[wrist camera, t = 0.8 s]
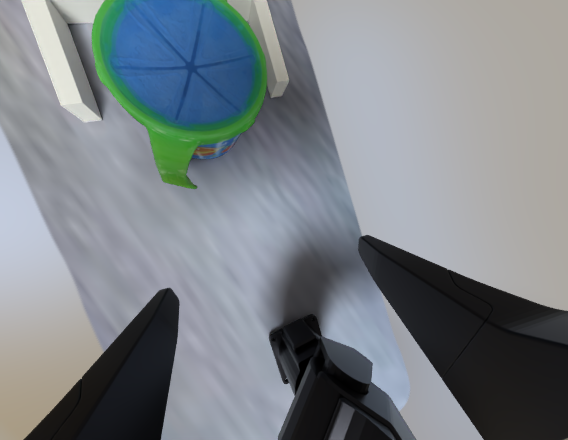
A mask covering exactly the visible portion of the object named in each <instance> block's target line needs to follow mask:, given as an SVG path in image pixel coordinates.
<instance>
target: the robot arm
mask: <svg viewBox="0 0 568 440" xmlns="http://www.w3.org/2000/svg"><path fill="white" fill-rule="evenodd" d="M358 251H359V254H360V256H361V258H362V260H363V262H364V263H365V265H366V267H367V269H368V271H369V273H370V274H371V276H372V278H373V280H374V281H375V283H376V284H377V286H378V287H379V289H380V290H381V292H382V293H383V294H384V296H385V297H386V299H387V300H388V302H389V303H390V305H391V306H392V307H393V309H394V310H395V312H396V313H397V315H398V316H399V318H400V319H401V320H402V322H403V323H404V325H405V326H406V328H407V329H408V331H409V332H410V333H411V335H412V336H413V338H414V339H415V341H416V342H417V344H418V345H419V346H420V348H421V349H422V351H423V352H424V354H425V355H426V357H427V358H428V359H429V361H430V362H431V364H432V365H433V367H434V368H435V369H436V371H437V372H438V374H439V375H440V377H441V378H442V380H443V381H444V383H445V384H446V386H447V387H448V388H449V390H450V391H451V393H452V394H453V396H454V397H455V399H456V400H457V401H458V403H459V404H460V406H461V407H462V409H463V410H464V411H465V413H466V414H467V416H468V417H469V418H470V420H471V422H472V423H473V425H474V426H475V427H476V429H477V430H478V432H479V433H480V435H481V436H482V438H483V439H484V440H568V311H564V310H559V309H554V308H550V307H547V306H543V305H540V304H537V303H534V302H532V301H529V300H526V299H524V298H521V297H518V296H515V295H513V294H510V293H507V292H504V291H502V290H499V289H496V288H493V287H491V286H488V285H486V284H483V283H480V282H477V281H475V280H473V279H470V278H467V277H465V276H463V275H460V274H458V273H456V272H453V271H451V270H447V269H446V268H444V267H441V266H439V265H437V264H435V263H432V262H430V261H427V260H425V259H423V258H420V257H418V256H416V255H414V254H411V253H409V252H406V251H404V250H402V249H400V248H397V247H395V246H393V245H390V244H388V243H386V242H383V241H381V240H379V239H376V238H374V237H372V236H369V235H365V236H361V237H360V238H359V246H358ZM312 318H313V320H311V319H312ZM178 321H179V299H178V297H177V296H176V294H175V293H174V292H173V290H172V289H171V288H166V289H162V290H160V291H158V292H157V294H156V295H155V296H154V297H153V298H152V299H151V300H150V301H149V303H148V304H147V305H146V306H145V307H144V308H143V309H142V310H141V311H140V313H139V314H138V315H137V316H136V317H135V318H134V319H133V320H132V322H131V323H130V324H129V325H128V326H127V327H126V328H125V329H124V331H123V332H122V333H121V334H120V335H119V336H118V337H117V338H116V339H115V341H114V342H113V343H112V344H111V345H110V346H109V347H108V348H107V350H106V351H105V352H104V353H103V354H102V355H101V356H100V357H99V359H98V360H97V361H96V362H95V363H94V364H93V365H92V366H91V367H90V369H89V370H88V371H87V372H86V373H85V374H84V376H83V377H82V379H80V380H79V381H78V382H77V383H76V384H75V385H74V386H73V388H72V389H71V390H70V391H69V392H68V393H67V394H66V395H65V396H64V398H63V399H62V400H61V401H60V402H59V403H58V404H57V405H56V406H55V407H54V409H53V410H52V411H51V412H50V413H49V414H48V415H47V416H46V417H45V418H44V419H43V420H42V421H41V422H40V423H39V424H38V425H37V427H35V428H34V429H33V430H32V432H31V433H30V434H29V435H28V436H27V437H26V438H25V439H24V440H161V435H162V429H163V423H164V417H165V410H166V404H167V398H168V392H169V386H170V380H171V374H172V368H173V362H174V356H175V350H176V344H177V337H178ZM272 338H275V339H274V340H272ZM269 341H270V344H271V347H272V350H273V353H274V356H275V359H276V362H277V365H278V368H279V371H280V375H281V378H282V381H283V383H284V384H288V383H289V384H290V386H291V388H292V391H293V393H294V395H295V397H294V400H293V402H292V404H291V407H290V409H289V412H288V414H287V416H286V419H285V421H284V424H283V426H282V428H281V431H280V433H279V436H278V440H416V438H415V437H414V435H413V434H412V432H411V430H410V429H409V427H408V425H407V424H406V422H405V421H404V419H403V418H402V416H401V414H400V413H399V411H398V409H397V408H396V406H395V405H394V403H393V401H392V400H391V398H390V397H389V396H388V395H387V394H386V393H385V392H384V391H382V390H381V389H380V388H378V387H377V386H376V385H375V384H373V383H372V382H371V377H372V364H373V363H372V362H371V361H370V360H368V359H367V358H366V357H365V356H363V355H362V354H361V353H359V352H358V351H357V350H355V349H354V348H351V347H349V346H346V345H343V344H341V343H338V342H335V341H333V340H330V339H327V338H325V337H322V335H321V331H320V328H319V325H318V321H317V318H316V316H315V315H313V314H311V315H309V316H307V317H305V318H303V319H299V320H297V321H295V322H293V323H291V324H289V325H287V326H285V327H284V328H283V329H281V330H279V331H277V332H275V333H273V334H271V335H270V337H269ZM286 378H287V379H286ZM285 379H286V380H285Z"/></svg>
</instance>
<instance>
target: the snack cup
mask: <svg viewBox="0 0 568 440" xmlns="http://www.w3.org/2000/svg"><path fill="white" fill-rule="evenodd" d="M92 49H93V54H94V58H95V67H96V71H97V74H98V76H99V78H100V80H101V82H102V83H103V84H104V85H105V86H107V87H108V89H109V90H110V92H111V93H112V94H113V96H114V97H115V98H116V99H117V101H118V102H119V103H120V104H121V105H122V107H123V108H124V109H125V110H126V111H127V112H128V113H129V114H130V115H131V116H133V117H134V118H135V119H136V120H137V121H138V122H140V123H141V124H142V125H144V126H145V127H146V128H147V130H148V133H149V137H150V142H151V146H152V151H153V154H154V159H155V162H156V166H157V168H158V171H159V173H160V175H161V178H162V180H163V182H165V183H169V184H174V185H177V186H182V187H186V188H191V189H196V188H197V186H196V185H194V184H193V183H192V182H191V181H190V179H189V178H188V177H187V175H186V173H187V170H188V166H189V162H190V160H191V158H198V159H212V158H217V157H219V156H221V155H223V154H225V153H227V152H228V151H229V150H230V149H231V148H232V147H233V145H234V144H235V142H236V141H237V139H238V138H239V136H240V135H241V133H243V132H245V131H246V130H248V129H249V128H250V127H251V126H252V125H253V124H254V122H255V118H256V116H257V115H258V113H259V111H260V109H261V106H262V104H263V101H264V97H265V93H266V88H267V68H266V59H265V55H264V53H263V51H262V48H261V46H260V43H259V41H258V39H257V37H256V35H255V34H254V32H253V30H252V29H251V27H250V26H249V24H248V23H247V22H246V21H245V19H244V18H243V17H242V16H241V14H240V13H239V12H238V11H237V10H235V9H234V8H233V7H232V6H231V5H230V4H229V3H228V2H227V0H105V1H104V2H103V3H102V5H101V7H100V8H99V10H98V12H97V14H96V15H95V19H94V23H93V29H92Z"/></svg>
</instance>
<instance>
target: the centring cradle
mask: <svg viewBox="0 0 568 440" xmlns="http://www.w3.org/2000/svg"><path fill="white" fill-rule="evenodd" d="M21 1H22V3H23V6H24V9H25V11H26V14H27V17H28V19H29V22H30V25H31V27H32V30H33V33H34V35H35V38H36V40H37V43H38V46H39V48H40V51H41V54H42V56H43V59H44V62H45V64H46V67H47V70H48V72H49V75H50V78H51V80H52V83H53V86H54V88H55V91H56V93H57V96H58V99H59V101H60V104H61V106H63V107H64V108H65V109H67V110H68V111H69V112H71V113H72V114H74V115H75V116H76V117H78V118H79V119H80V120H82V121H83V122H91V121H99V120H102V117H101V115H100V112H99V109H98V106H97V104H96V101H95V98H94V95H93V93H92V90H91V87H90V84H89V82H88V79H87V76H86V73H85V71H84V68H83V65H82V62H81V60H80V57H79V54H78V51H77V49H76V46H75V43H74V40H73V38H72V35H71V32H70V29H69V27H68V24H82V23H94V19H95V15H96V14H97V12H98V10H99V8H100V7H101V5H102V3H103V2H104V1H105V0H21ZM227 2H228V3H229V4H230V5H231V6H232V7H233V8H234V9H235V10H237V11H238V12H239V13H240V14H241V16H242V17H243V18H244V19H245V21H249V25H250V27H251V29H252V30H253V32H254V34H255V35H256V37H257V39H258V41H259V43H260V46H261V48H262V51H263V53H264V55H265V59H266V68H267V87H268V90H269V93H270V97H271V98H273V97H281V96H282V95H283V93H284V91H285V89H286V87H287V84H288V82H289V77H288V74H287V70H286V67H285V63H284V60H283V56H282V53H281V49H280V45H279V42H278V38H277V35H276V31H275V28H274V24H273V21H272V17H271V14H270V10H269V7H268V3H267V0H227Z"/></svg>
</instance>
